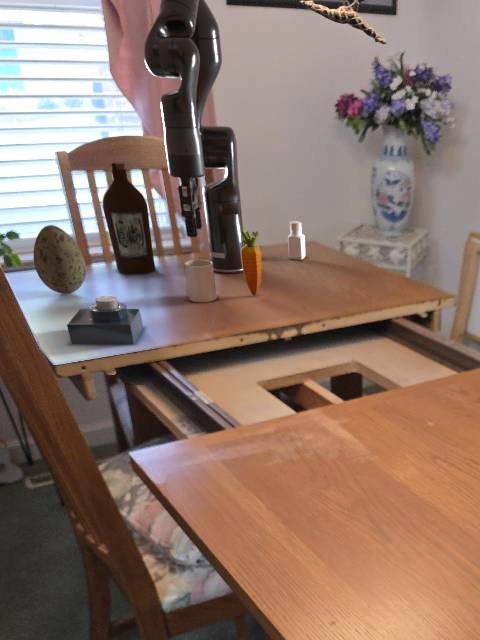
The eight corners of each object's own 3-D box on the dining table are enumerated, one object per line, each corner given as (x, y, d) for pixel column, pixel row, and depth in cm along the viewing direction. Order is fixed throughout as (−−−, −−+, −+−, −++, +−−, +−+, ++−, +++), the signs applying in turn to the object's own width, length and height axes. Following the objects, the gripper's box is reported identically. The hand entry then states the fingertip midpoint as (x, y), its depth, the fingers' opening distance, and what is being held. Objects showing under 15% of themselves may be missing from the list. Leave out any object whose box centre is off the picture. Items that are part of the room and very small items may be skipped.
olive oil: (114, 265, 188) (94, 160, 174) (156, 263, 191) (139, 159, 177) (115, 276, 180) (94, 166, 166) (158, 273, 183) (141, 166, 169)
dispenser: (71, 344, 140) (64, 314, 137) (84, 327, 148) (77, 299, 145) (133, 344, 142) (128, 314, 138) (143, 327, 150) (137, 299, 146)
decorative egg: (40, 301, 162) (22, 231, 153) (43, 287, 170) (26, 220, 161) (90, 298, 165) (75, 229, 156) (91, 285, 173) (77, 219, 164)
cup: (190, 294, 170) (186, 259, 165) (217, 294, 171) (213, 259, 166) (187, 302, 165) (182, 266, 160) (215, 302, 166) (211, 266, 161)
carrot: (267, 293, 173) (262, 227, 164) (261, 299, 169) (256, 232, 160) (247, 292, 173) (241, 226, 164) (241, 298, 169) (234, 231, 160)
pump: (95, 311, 140) (92, 301, 139) (99, 305, 143) (97, 295, 142) (116, 311, 141) (113, 301, 139) (120, 305, 144) (118, 295, 143)
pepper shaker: (288, 259, 200) (286, 223, 194) (292, 256, 203) (290, 220, 197) (302, 260, 199) (300, 224, 194) (306, 257, 202) (304, 221, 197)
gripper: (198, 155, 145) (208, 239, 154) (206, 147, 156) (215, 226, 165) (160, 155, 144) (173, 239, 153) (171, 146, 155) (182, 225, 164)
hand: (194, 232), depth 159 cm, fingers open, 8 cm apart
